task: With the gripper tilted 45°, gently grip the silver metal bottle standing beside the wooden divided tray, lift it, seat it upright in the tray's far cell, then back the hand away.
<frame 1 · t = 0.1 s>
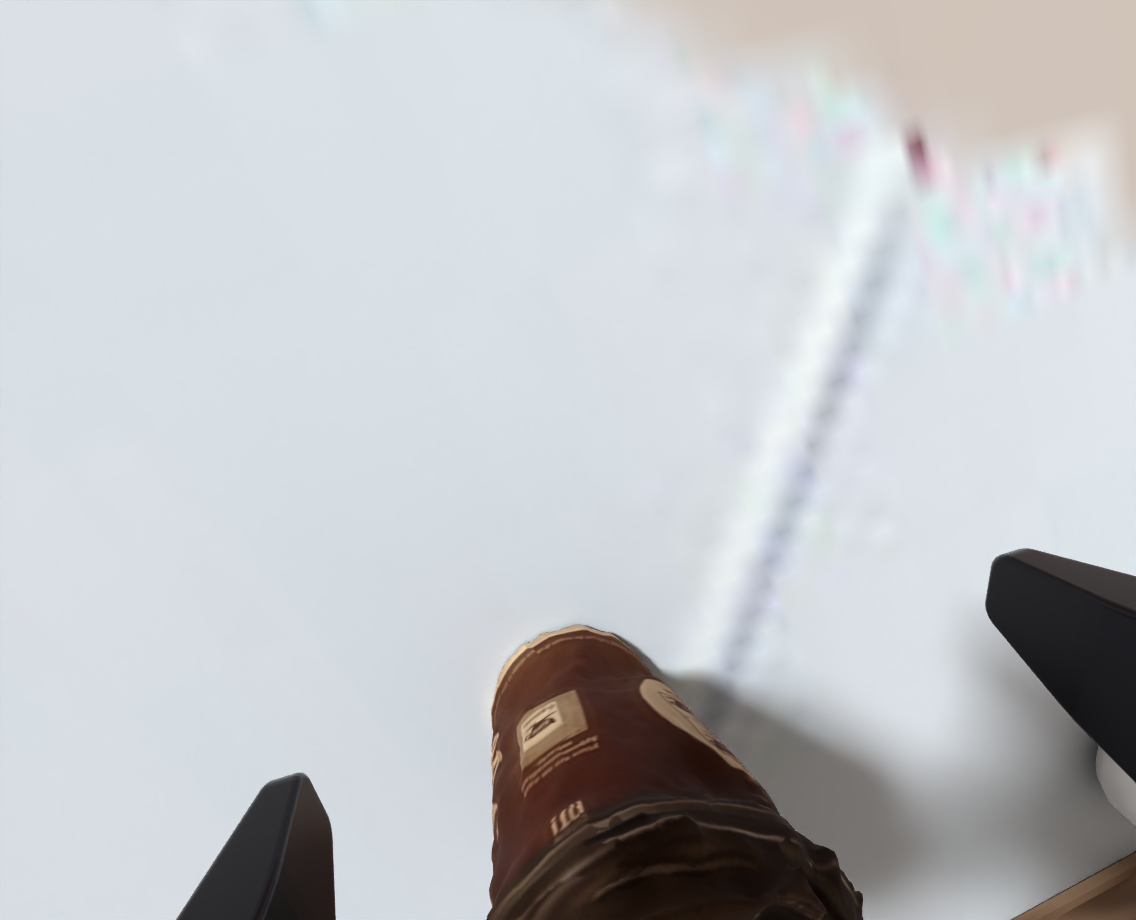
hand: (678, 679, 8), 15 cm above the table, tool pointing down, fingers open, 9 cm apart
silver metal bottle: (1127, 735, 32), on the table
coffee cup: (575, 697, 25), on the table
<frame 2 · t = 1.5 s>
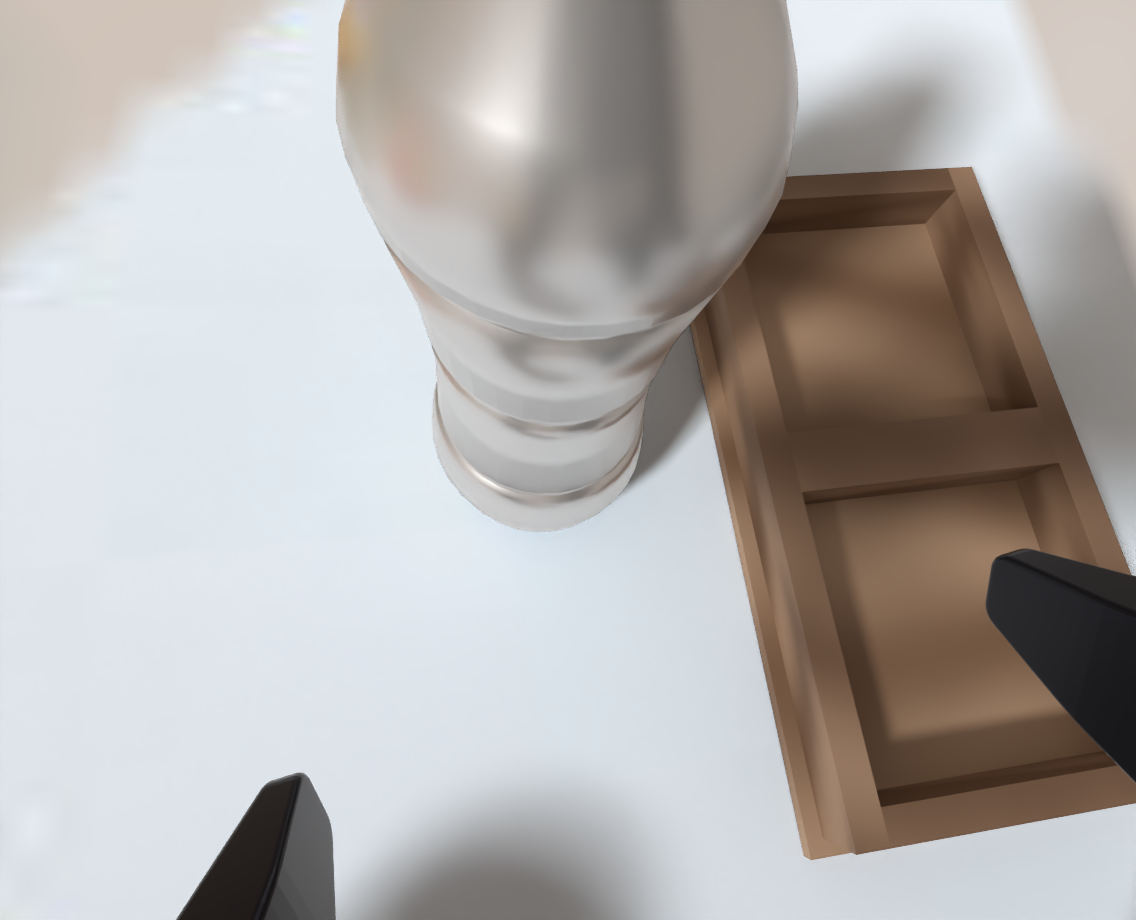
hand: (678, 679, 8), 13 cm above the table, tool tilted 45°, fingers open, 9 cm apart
wooden divided tray: (883, 470, 24), on the table
silver metal bottle: (534, 453, 23), on the table
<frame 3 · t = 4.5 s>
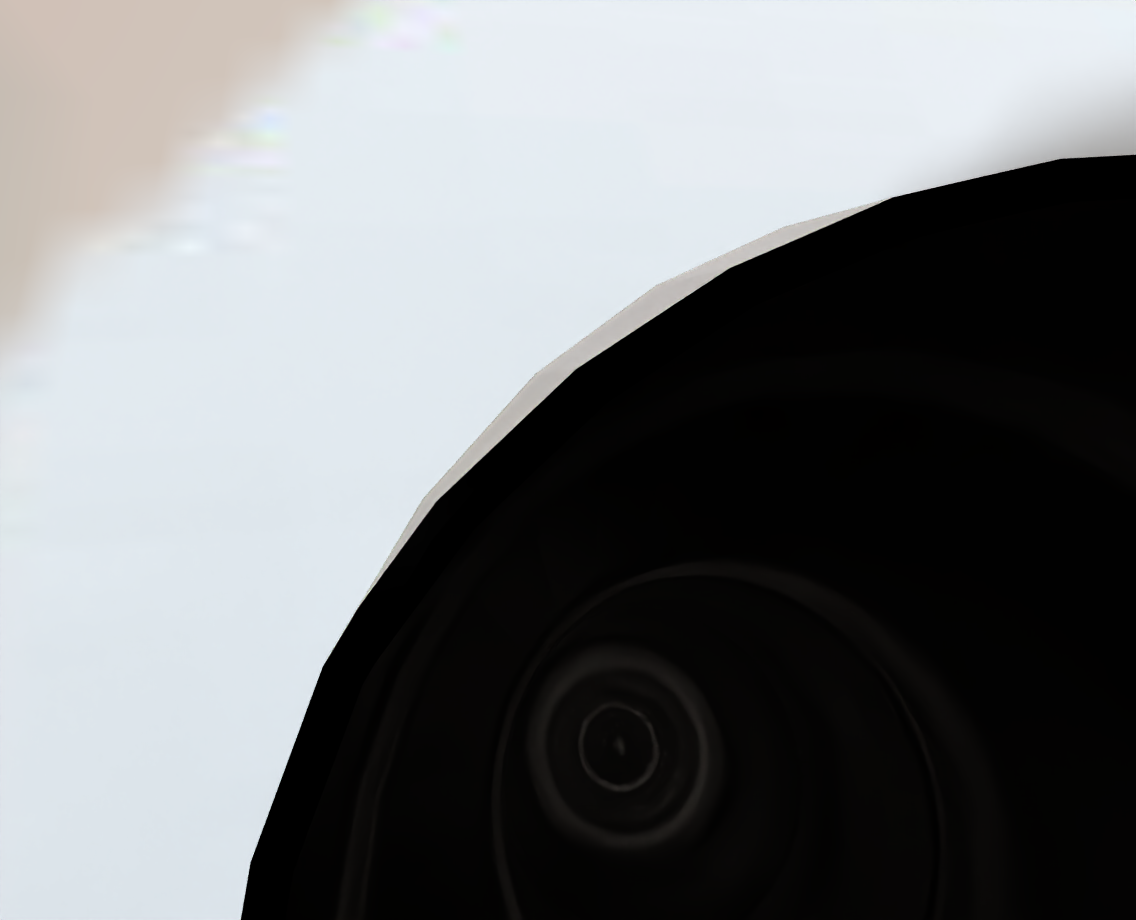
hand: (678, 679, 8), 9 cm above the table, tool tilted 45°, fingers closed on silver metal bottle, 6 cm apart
silver metal bottle: (615, 742, 17), on the table, touching gripper
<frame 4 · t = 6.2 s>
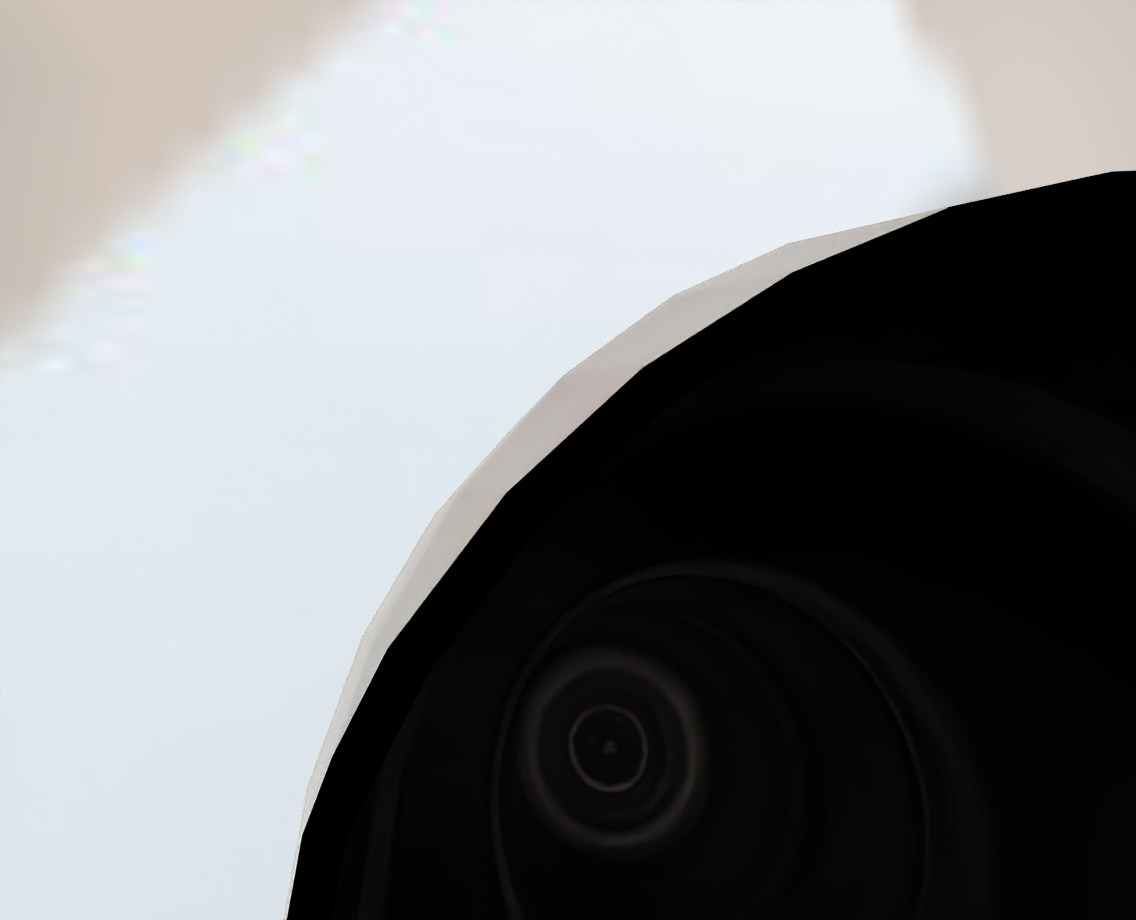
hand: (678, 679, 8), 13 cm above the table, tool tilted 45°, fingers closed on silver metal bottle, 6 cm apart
silver metal bottle: (605, 743, 17), point 4 cm above the table, touching gripper
when the fingers open (10 cm above the table, at t = 8.1 s): silver metal bottle stays where it is, resting on wooden divided tray.
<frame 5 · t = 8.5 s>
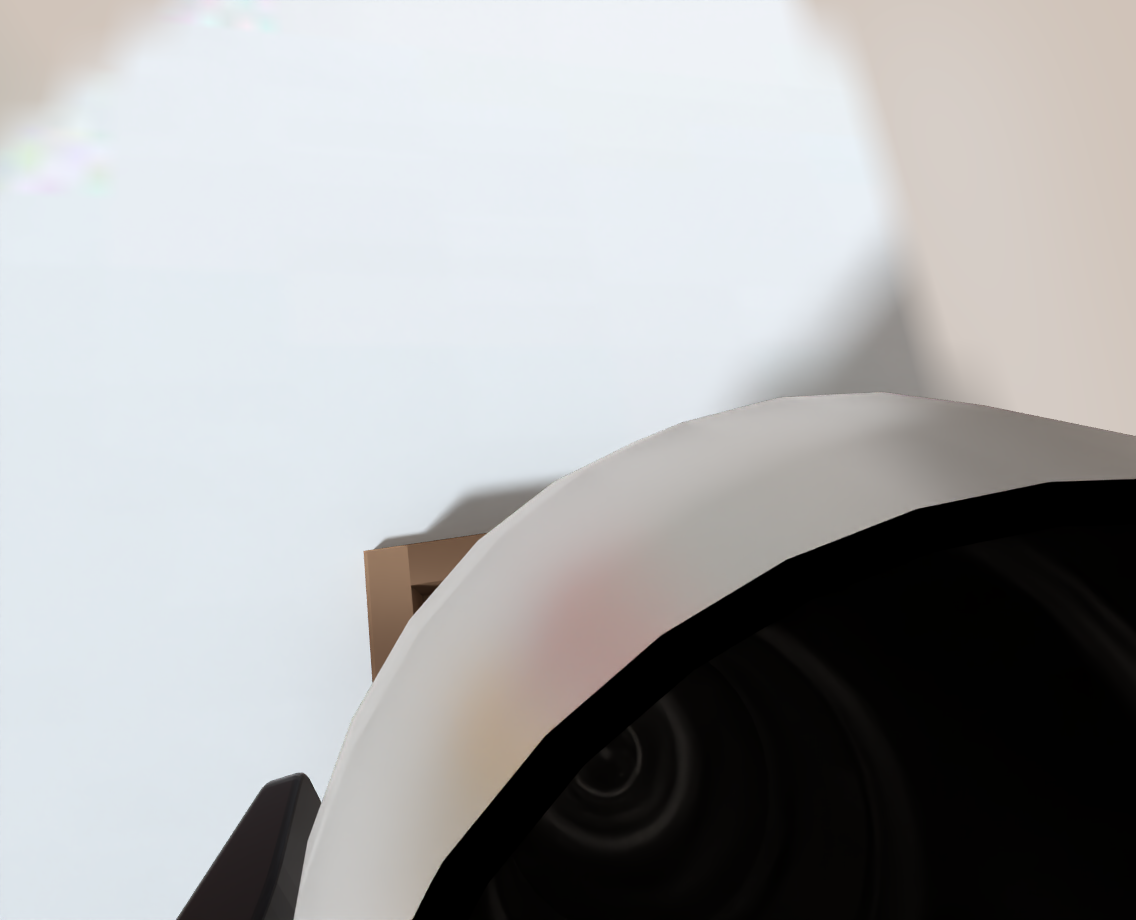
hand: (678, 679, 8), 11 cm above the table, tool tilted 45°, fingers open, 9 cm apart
silver metal bottle: (601, 750, 18), resting on wooden divided tray
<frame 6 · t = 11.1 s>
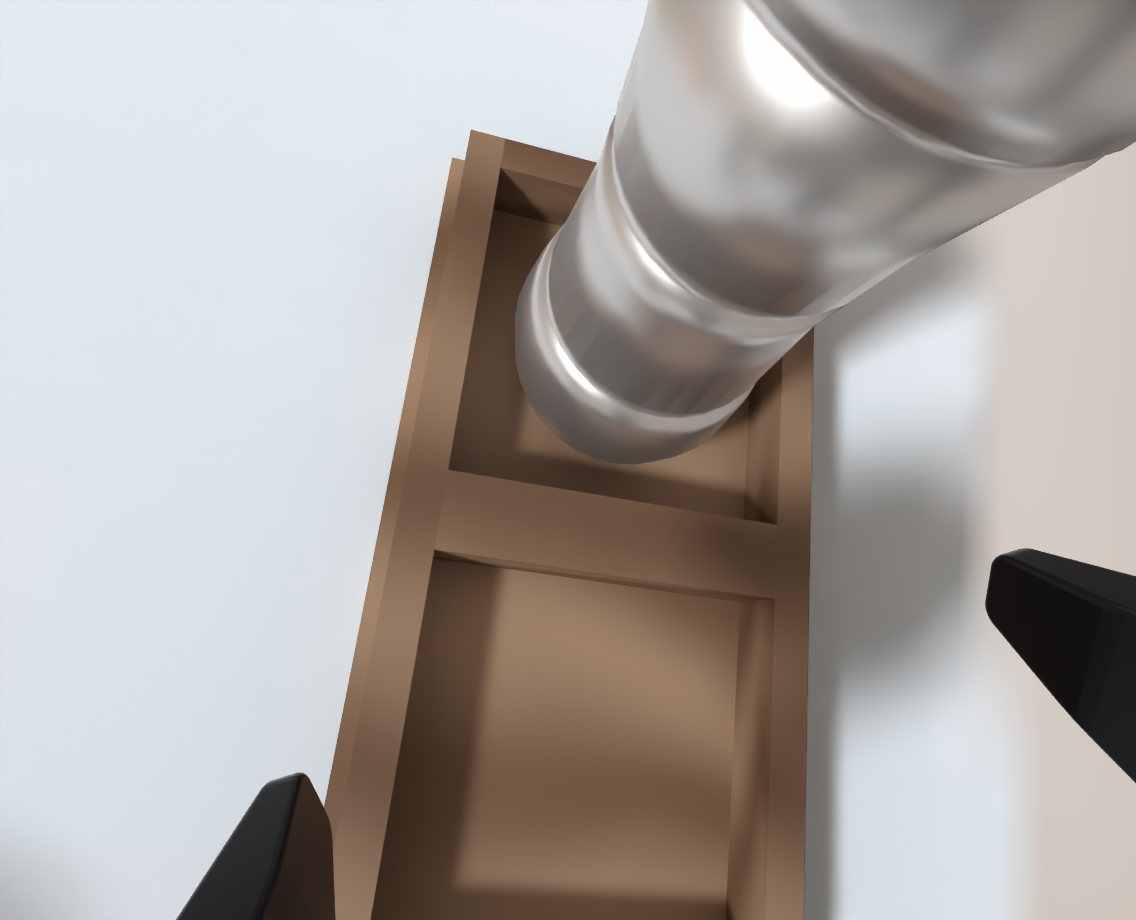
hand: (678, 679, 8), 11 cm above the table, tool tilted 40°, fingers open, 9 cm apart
wooden divided tray: (591, 547, 19), on the table
silver metal bottle: (604, 376, 21), resting on wooden divided tray
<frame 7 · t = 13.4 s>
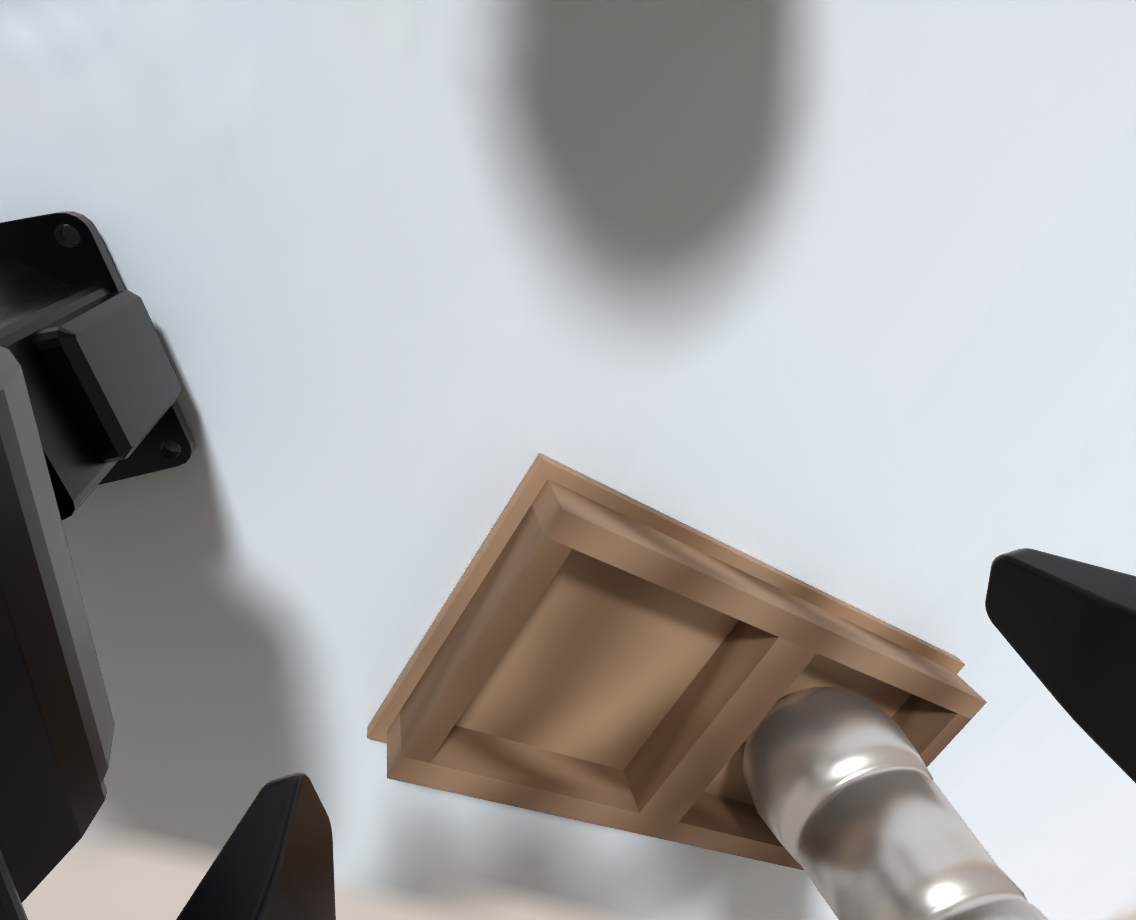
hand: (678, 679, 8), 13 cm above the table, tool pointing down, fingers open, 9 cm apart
wooden divided tray: (698, 687, 27), on the table
silver metal bottle: (793, 719, 29), resting on wooden divided tray
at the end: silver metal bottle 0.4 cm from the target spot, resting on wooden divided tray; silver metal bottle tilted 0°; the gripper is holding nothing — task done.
